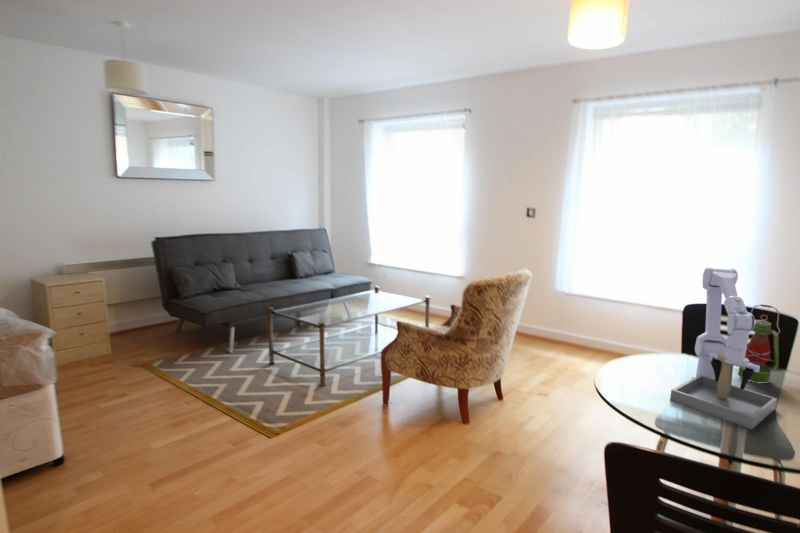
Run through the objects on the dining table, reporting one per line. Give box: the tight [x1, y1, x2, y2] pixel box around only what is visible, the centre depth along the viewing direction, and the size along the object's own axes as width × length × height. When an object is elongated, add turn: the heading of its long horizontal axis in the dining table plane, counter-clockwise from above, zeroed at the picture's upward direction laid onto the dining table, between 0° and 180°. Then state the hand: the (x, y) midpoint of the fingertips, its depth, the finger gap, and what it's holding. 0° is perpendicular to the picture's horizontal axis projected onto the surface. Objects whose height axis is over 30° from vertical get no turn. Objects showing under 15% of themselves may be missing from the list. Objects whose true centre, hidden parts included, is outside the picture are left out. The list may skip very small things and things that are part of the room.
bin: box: [669, 375, 778, 430], centre depth 164 cm, size 24×24×4 cm
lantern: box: [737, 303, 781, 382], centre depth 187 cm, size 14×11×30 cm
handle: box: [717, 354, 735, 399], centre depth 167 cm, size 5×6×15 cm
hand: (729, 384), depth 167 cm, fingers open, 7 cm apart
